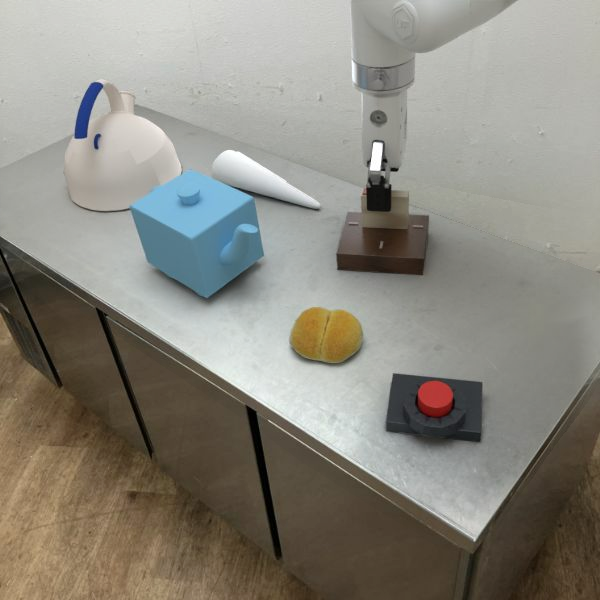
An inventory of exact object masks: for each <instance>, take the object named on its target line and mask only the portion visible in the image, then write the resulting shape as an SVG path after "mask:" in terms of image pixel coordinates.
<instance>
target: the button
mask: <svg viewBox="0 0 600 600" xmlns="http://www.w3.org/2000/svg"><path fill="white" fill-rule="evenodd" d="M452 401H453V392H452V390H451V388H450V387H449V386H448V385H446V384H445V383H443V382H439V381H429V382H426V383H424V384H423V385H422V386H421V387H420V388H419V391H418V407H419V409H420V411H421V412H422V413H423V414H425V415H427V416H429V417H433V418H439V417H443V416H445V415H447V414H448V413H449V412H450V411H451V408H452Z"/></svg>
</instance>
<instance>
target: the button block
mask: <svg viewBox="0 0 600 600" xmlns="http://www.w3.org/2000/svg"><path fill="white" fill-rule="evenodd" d="M429 381H439V382H443V383H445V384H446V385H448V386H449V387H450V388H451V390H452V392H453V401H452V408H451V411H450V412H449V413H448V414H447V415H445V416H443V417H439V418H433V417H429V416H427V415H425V414H423V413H422V412H421V411H420V409H419V407H418V391H419V388H420V387H421V386H422V385H423V384H424V383H426V382H429ZM385 418H386V419H385V431H386V432H392V433H399V434H409V435H415V436H416V435H417V436H422V437H423V436H424V437H431V438H438V439H450V440H459V441H466V442H467V441H468V442H475V443H480V442H481V439H482V432H483V426H482V425H483V381H477V380H466V379H457V378H446V377H435V376H425V375H415V374H406V373H392V376H391V383H390V390H389V398H388V405H387V412H386V417H385Z"/></svg>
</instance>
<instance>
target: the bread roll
mask: <svg viewBox="0 0 600 600" xmlns="http://www.w3.org/2000/svg"><path fill="white" fill-rule="evenodd" d="M288 341H289V344H290V347H292V349H293V350H294V351H295V352H296V353H297V354H298V355H299V356H301V357H303V358H305V359H309V360H313V361H320V362H321V361H322V362H324V363H329V364H339V363H342V362H345V361H346V360H347V359H349V358H350V357H352V356H353V355H355V353H357V352H358V351H359V350H360V349H361V347H362V345H363V341H364V330H363V326H362V324H361V322H360V321H359V319H358V318H357V317H356V316H354V315H353V314H352V313H350V312H349V311H347V310H345V309H340V308H339V309H332V310H330V309H327V308H325V307H321V306H311V307H309V308H306V309H305V310H304V311H302V312H301V313H300V315H298V316H297V318H296V319H295V321H294V322H293V325H292V328H291V330H290V332H289V337H288Z"/></svg>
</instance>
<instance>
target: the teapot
mask: <svg viewBox="0 0 600 600" xmlns="http://www.w3.org/2000/svg"><path fill="white" fill-rule="evenodd" d="M129 207H130V209H129V210H130V213H131V216H132V219H133V222H134V225H135V229H136V232H137V234H138V237H139V240H140V243H141V246H142V249H143V253H144V255H145V259H146V262H147V263H148V264H150V265H151V266H153V267H154V268H156V269H158V270H159V271H161V272H163V273H164V274H166V276H167V277H168V278H171V279H174V280H176V281H178V282H179V283H181V284H183V285H185V286H186V287H188V288H189V289H191V290H193V291H194V292H195V293H196V294H197V295H198V296H199V297H204V298H206V299H208V298H209V297H210V296H212V295H213V294H215V293H216V292H217V291H219V290H220V289H222V288H223V287H224V286H226V285H227V284H228V283H229V282H231V281H232V280H234V279H235V278H236V277H238V276H239V275H240V274H241V273H243V272H244V271H246V270H247V269H248V268H249V267H251V266H252V265H254V264H255V263H256V262H258V261H259V260H260V259H262V258H263V257H265V253H264V248H263V247H264V246H263V241H262V236H261V229H260V224H259V217H258V213H257V206H256V202H255V198H254V197H253V196H252V195H250V194H248V193H245V192H243V191H241V190H239V189H238V188H236V187H233V186H229V185H226V184H224V183H221V182H219V181H217V180H215V179H213V178H212V177H210V176H208V175H206V174H203V173H201V172H199V171H197V170H194V169H191V168H189V169H188V170H186V171H185V172H183V173H181V174H180V176H178V177H176V178H174V179H173V180H171V181H169V182H168V183H166V184H164V185H159V186H156V187H154V188H153V189H152V190H151V191H150V193H149V194H148V195H146V196H144V197H143V198H141V199H140V200H138V201H136V202H134V203H133V204H131V205H130V206H129Z"/></svg>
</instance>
